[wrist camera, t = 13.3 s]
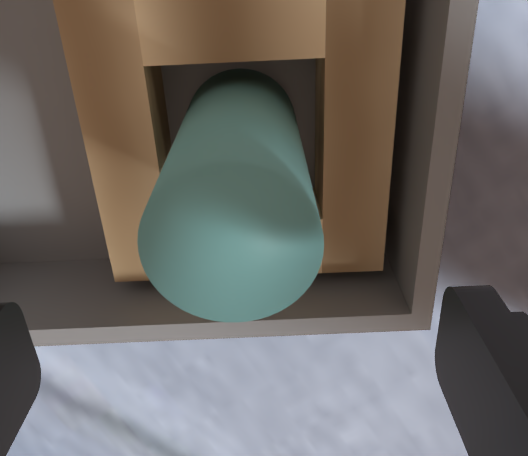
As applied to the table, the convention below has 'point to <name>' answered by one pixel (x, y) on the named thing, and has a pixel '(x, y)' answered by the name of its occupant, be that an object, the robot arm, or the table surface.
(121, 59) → the bore block
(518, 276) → the table surface
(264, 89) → the peg
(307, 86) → the open box
